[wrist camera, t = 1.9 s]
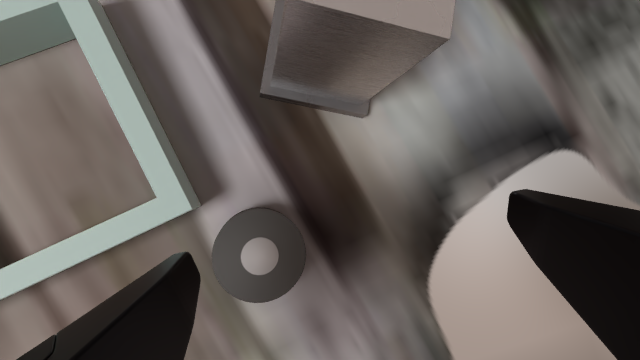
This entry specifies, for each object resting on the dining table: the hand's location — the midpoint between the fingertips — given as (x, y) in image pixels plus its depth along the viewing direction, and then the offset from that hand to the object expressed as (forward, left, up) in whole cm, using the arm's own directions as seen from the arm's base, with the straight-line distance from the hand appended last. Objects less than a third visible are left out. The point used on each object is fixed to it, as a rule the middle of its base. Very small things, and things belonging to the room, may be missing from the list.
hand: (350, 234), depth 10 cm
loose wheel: (-1, +3, -12) cm, 13 cm away
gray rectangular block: (+8, -5, -12) cm, 16 cm away
